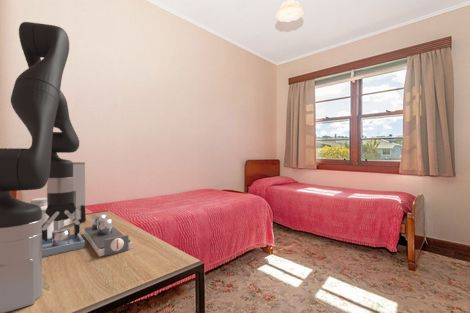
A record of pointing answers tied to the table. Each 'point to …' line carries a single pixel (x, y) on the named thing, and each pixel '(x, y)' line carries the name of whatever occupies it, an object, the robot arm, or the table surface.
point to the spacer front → (60, 237)
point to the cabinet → (75, 195)
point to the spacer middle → (104, 226)
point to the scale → (107, 241)
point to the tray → (75, 244)
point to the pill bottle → (43, 204)
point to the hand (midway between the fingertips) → (61, 237)
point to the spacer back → (97, 217)
